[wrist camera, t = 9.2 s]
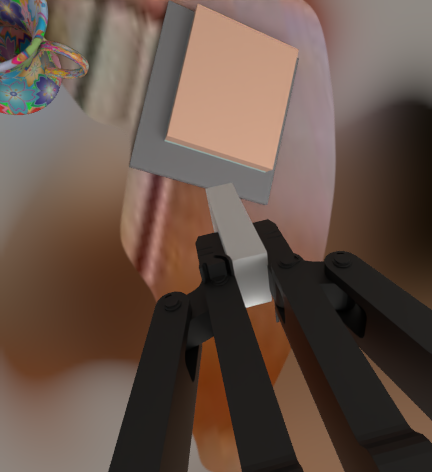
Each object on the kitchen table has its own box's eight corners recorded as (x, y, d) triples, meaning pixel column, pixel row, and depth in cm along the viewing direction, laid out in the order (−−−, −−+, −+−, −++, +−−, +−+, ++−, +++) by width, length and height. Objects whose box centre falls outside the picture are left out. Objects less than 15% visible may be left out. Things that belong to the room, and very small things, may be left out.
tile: (272, 169, 36) (298, 49, 37) (167, 135, 33) (197, 3, 33) (264, 172, 38) (289, 58, 39) (164, 140, 34) (193, 15, 35)
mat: (264, 205, 39) (267, 204, 38) (129, 166, 34) (129, 165, 33) (295, 61, 40) (298, 58, 39) (167, 5, 35) (168, 0, 34)
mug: (-59, 98, 29) (-150, 29, 19) (-25, 4, 30) (-96, -112, 20) (79, 147, 33) (64, 110, 23) (107, 62, 33) (105, -11, 23)
